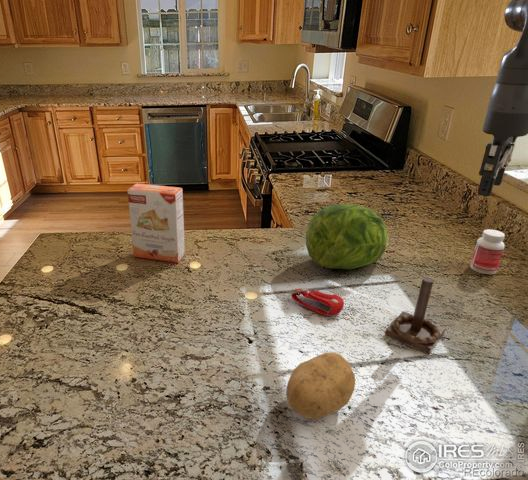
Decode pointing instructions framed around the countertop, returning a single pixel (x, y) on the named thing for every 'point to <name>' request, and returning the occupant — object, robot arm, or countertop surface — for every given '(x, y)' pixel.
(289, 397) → the potato
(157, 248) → the cracker box
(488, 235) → the pill bottle
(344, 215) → the lettuce
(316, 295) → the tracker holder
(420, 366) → the countertop surface
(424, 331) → the post
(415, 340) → the ring
